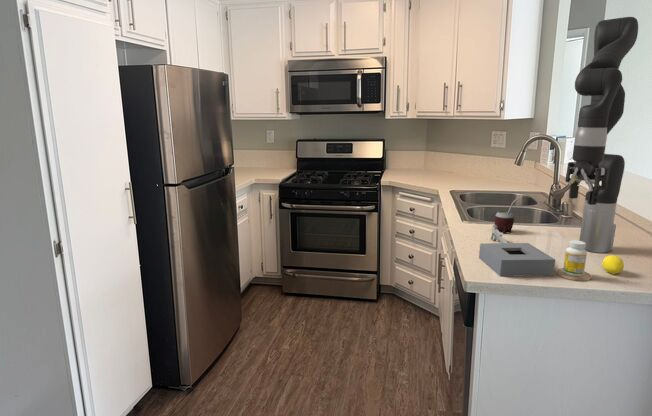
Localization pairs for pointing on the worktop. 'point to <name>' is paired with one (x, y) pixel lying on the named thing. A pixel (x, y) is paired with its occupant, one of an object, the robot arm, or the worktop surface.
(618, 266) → the lemon
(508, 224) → the mate gourd
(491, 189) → the worktop surface
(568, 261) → the supplement bottle
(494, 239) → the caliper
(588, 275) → the cork coaster
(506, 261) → the box
